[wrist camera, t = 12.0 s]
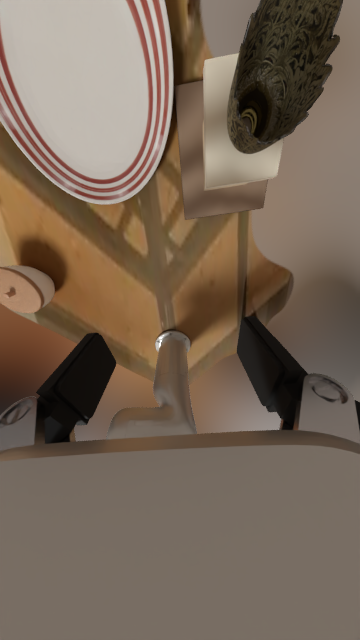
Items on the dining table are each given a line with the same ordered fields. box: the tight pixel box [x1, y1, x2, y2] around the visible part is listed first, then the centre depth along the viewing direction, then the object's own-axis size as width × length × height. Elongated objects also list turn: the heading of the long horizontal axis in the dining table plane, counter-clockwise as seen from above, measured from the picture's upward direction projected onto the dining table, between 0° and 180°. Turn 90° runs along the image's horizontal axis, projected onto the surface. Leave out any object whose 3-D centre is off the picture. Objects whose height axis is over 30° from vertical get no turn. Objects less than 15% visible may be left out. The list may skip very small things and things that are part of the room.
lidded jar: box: [0, 265, 55, 313], centre depth 33 cm, size 11×11×9 cm
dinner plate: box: [0, 0, 174, 204], centre depth 20 cm, size 27×27×3 cm
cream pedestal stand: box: [175, 53, 284, 220], centre depth 21 cm, size 16×16×10 cm
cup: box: [227, 0, 343, 154], centre depth 14 cm, size 8×7×8 cm
